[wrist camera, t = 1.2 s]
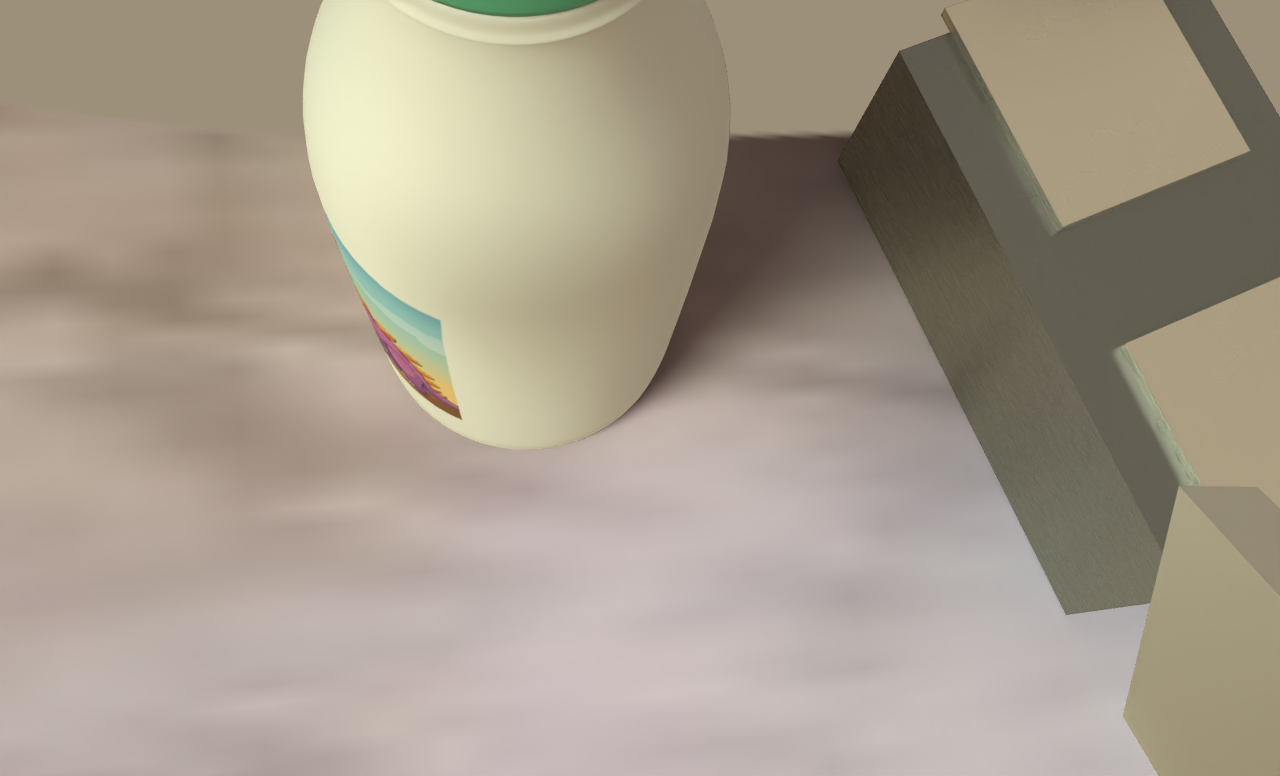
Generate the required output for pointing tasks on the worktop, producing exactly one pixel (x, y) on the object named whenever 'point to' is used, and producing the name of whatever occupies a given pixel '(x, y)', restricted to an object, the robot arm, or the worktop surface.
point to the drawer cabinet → (1089, 262)
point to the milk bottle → (519, 195)
